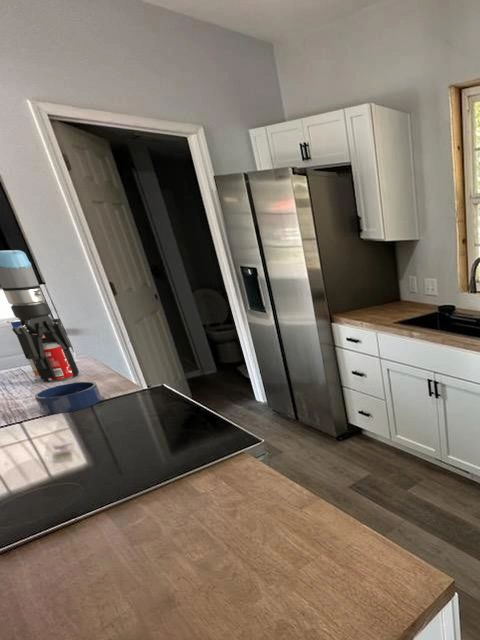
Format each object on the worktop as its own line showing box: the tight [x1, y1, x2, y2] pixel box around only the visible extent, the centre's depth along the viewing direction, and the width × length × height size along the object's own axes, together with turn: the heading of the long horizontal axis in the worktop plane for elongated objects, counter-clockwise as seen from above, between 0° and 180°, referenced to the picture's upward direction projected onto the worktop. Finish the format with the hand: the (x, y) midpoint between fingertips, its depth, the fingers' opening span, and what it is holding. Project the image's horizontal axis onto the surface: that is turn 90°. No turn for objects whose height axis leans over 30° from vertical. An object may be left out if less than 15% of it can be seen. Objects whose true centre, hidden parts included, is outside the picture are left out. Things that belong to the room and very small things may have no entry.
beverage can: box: [43, 342, 74, 383], centre depth 133 cm, size 6×6×12 cm
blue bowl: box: [34, 381, 103, 415], centre depth 137 cm, size 14×14×6 cm
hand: (59, 374), depth 134 cm, fingers closed on beverage can, 6 cm apart
